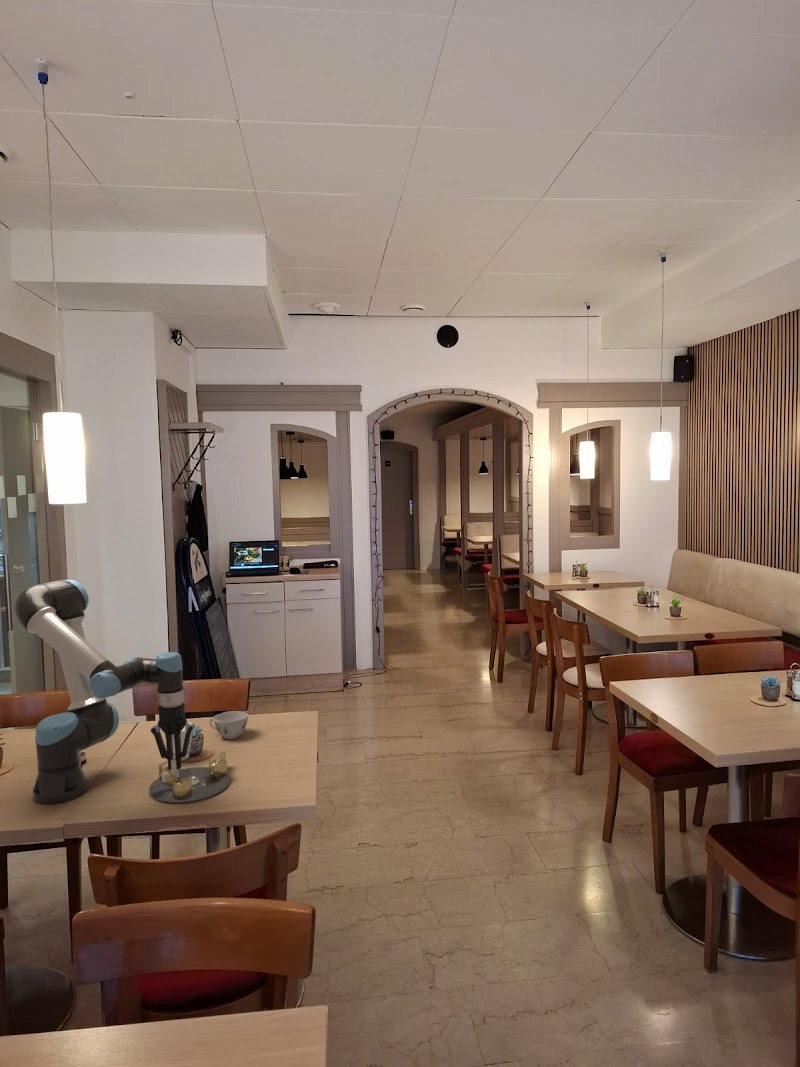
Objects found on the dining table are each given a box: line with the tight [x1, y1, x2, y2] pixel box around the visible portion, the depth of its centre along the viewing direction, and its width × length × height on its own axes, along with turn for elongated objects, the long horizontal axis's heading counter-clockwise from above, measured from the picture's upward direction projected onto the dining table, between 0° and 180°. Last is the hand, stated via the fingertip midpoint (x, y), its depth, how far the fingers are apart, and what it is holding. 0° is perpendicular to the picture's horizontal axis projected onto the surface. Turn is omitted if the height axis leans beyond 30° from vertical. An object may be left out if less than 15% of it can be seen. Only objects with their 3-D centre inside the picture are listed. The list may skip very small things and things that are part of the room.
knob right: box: [208, 748, 228, 779], centre depth 228 cm, size 13×6×4 cm, turn 3°
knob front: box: [162, 772, 192, 799], centre depth 213 cm, size 13×6×4 cm, turn 49°
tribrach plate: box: [148, 766, 231, 805], centre depth 220 cm, size 24×24×2 cm
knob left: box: [158, 752, 175, 780], centre depth 227 cm, size 13×6×4 cm, turn 3°
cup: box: [172, 721, 193, 762], centre depth 242 cm, size 10×10×11 cm
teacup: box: [209, 710, 249, 740], centre depth 262 cm, size 15×12×8 cm
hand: (175, 778), depth 217 cm, fingers closed
